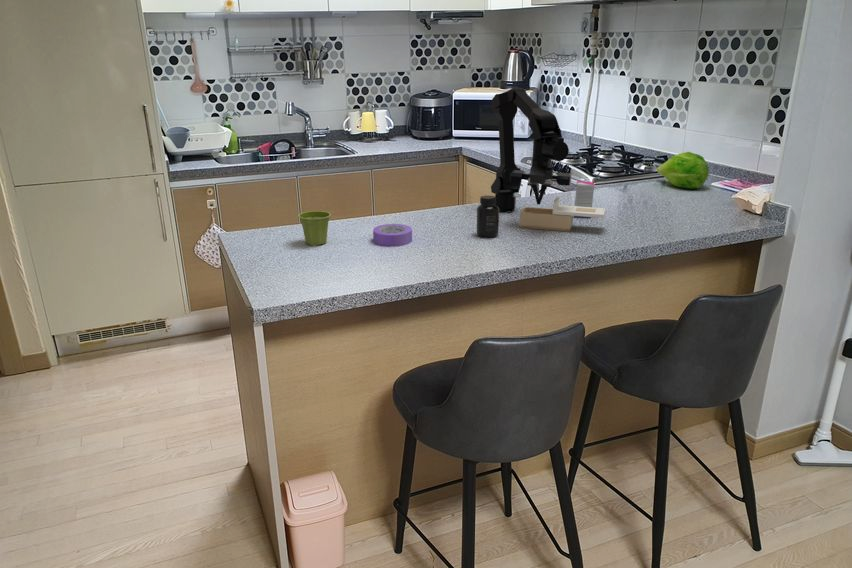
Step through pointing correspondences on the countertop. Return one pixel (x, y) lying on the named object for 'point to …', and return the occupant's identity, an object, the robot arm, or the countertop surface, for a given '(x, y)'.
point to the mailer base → (544, 219)
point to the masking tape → (392, 235)
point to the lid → (577, 210)
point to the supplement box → (584, 195)
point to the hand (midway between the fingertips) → (538, 204)
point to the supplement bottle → (487, 217)
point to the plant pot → (315, 226)
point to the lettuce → (685, 170)
